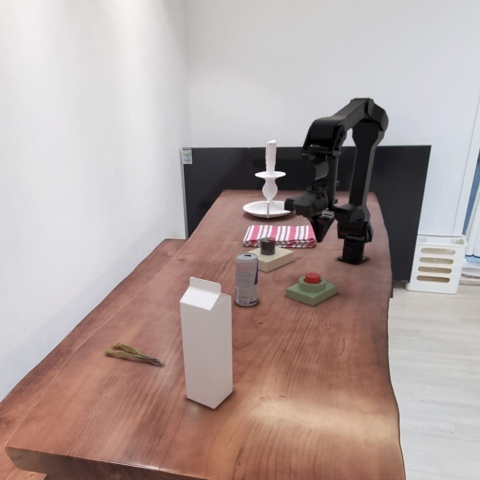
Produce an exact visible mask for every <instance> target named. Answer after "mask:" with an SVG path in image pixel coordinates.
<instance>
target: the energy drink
mask: <svg viewBox="0 0 480 480" xmlns="http://www.w3.org/2000/svg"><path fill="white" fill-rule="evenodd" d="M234 262H235V263H234V264H235V265H234V270H235V273H234V274H235V277H234V279H235V303H236V304H237V305H238V306H241V307H252V306H255V305H256V304H257V303H258V298H259V297H258V296H259V295H258V293H259V270H258V258H257V255H256V254H254V253H246V252H241V253H238V254H236V255H235V260H234Z"/></svg>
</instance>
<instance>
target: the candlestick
mask: <svg viewBox="0 0 480 480" xmlns="http://www.w3.org/2000/svg"><path fill="white" fill-rule="evenodd" d="M276 154H277V140H276V139H269V141H266V142H265V165H266V166H265V169H266V170H265V171H261V172H256V173H254V176H256V177H257V178H261V179H263V180H265V183H264V184H263V186H262V189H261V190H262V194H263V196H264V197H265V199H266V200H257V201H253V202H249V203H246V204H244V206H243V207H242V210H243V211H245V212H246V213H249V214H250V215H252V216H254V217H259V218H264V219H265V218H266V219H270V218H272V219H273V218H279V217H283V216H286V215H288V214H289V213H292V212H291V211H286V210H284V202H285V201H284V200H273V199H274V197H275V196H276V195H277V193H278V185H277V184H276V179H278V178H281V177H284V176H286V172H283V171H275V170H276V169H275V167H276V163H277V162H276V158H277V157H276Z"/></svg>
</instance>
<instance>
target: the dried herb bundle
mask: <svg viewBox="0 0 480 480" xmlns="http://www.w3.org/2000/svg"><path fill="white" fill-rule="evenodd" d="M112 347H113V348H114V349H118V348H120V349H124V350H127V351H128V352H129V353H128V352H125V351H118V350H117V351H116V350H111V349H110V348H107V350H105V353H107V354H108V355H113V356H118V357H122V358H131V359H136V360H141V361H147V362H151V363H155V364H158V365H159V366H162V361H160V360H159V359H157V358H155V357H151V356H150V355H149V356H148V355H146V354H145V353H143V352H142V351H140V350H139V349H137V348H136V347H133V346H132V345H128V344H126V343H122V342H116V343H115V344H112ZM130 353H134V354H130Z"/></svg>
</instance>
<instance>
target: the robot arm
mask: <svg viewBox="0 0 480 480" xmlns="http://www.w3.org/2000/svg"><path fill="white" fill-rule="evenodd" d="M389 121H390V118H389V116H388V114H387V111H386V109H385V108H384V107H381V106H380V105H378V104H377V103H375V100H374V99H373V98H371V97H354V98H351V99H350V100H349V103H348V104H345V106H343V107H341V109H339V110H338V111H337V112H335V113H334V114H332V115H329V116H322V117H318V118H315V119H314V120H313V121H312V122H311V123H310V125H309V128H308V130H307V132H306V136H305V138H304V141H303V144H302V147H301V150H300V154H301V155H300V160H299V161H297V162H295V164H294V165H293V167H292V170H291V178H292V180H293V182H294V183H295V185H297V186H298V187H300V188H306V189H305V192H303V193H301V194H296V195H293V196H290V197H287V198H286V199H285V201H284V210H286V211H291V212H290V213H294V212H295V215H296V216H298V217H299V216H300V217H303V218H306V220H308V221H309V223H310V226H312V228H313V232H314V235H315V238H316V244H321V243H323V241H324V239H325V237H326V235H327V233H328V232H329V230H330V228H331V227H332V225H333V223H334V222H335V221H336V222H337V223H336V234H337V239H338V240H343V245H342V253H341V255H340V256H338V257H336V259H337V260H338V261H342V262H346V263H349V264H352V265H358V264H361V263H363V262H365V261H367V260H369V256H366V255H364V254H365V248H366V247H365V246H366V244H368V243H372V242H373V238H374V234H375V231H374V229H373V225H372V223H371V212H370V210H369V208H368V206H367V205H368V204H367V202H368V196H369V189H370V183H371V177H372V171H373V165H374V161H375V160H374V159H375V155H376V154H375V153H376V149H377V147H378V146H379V145H380V143H382V141H383V140H384V138H385V134H386V131H387V130H388V127H389ZM349 130H352V131H351V139H352V141H353V143H354V145H355V148H356V150H355V157H354V163H353V170H352V176H351V183H350V189H349V195H348V201H347V203H345V204H342V205H340V206H338V205H337V204H339V198H336V191H337V187H339V186H340V180H337V179H338V167H339V156H340V155H342V150H341V149H342V148H343V145H344V144H345V143H344V142H345V141H346V140H347V136H348V131H349Z"/></svg>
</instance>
